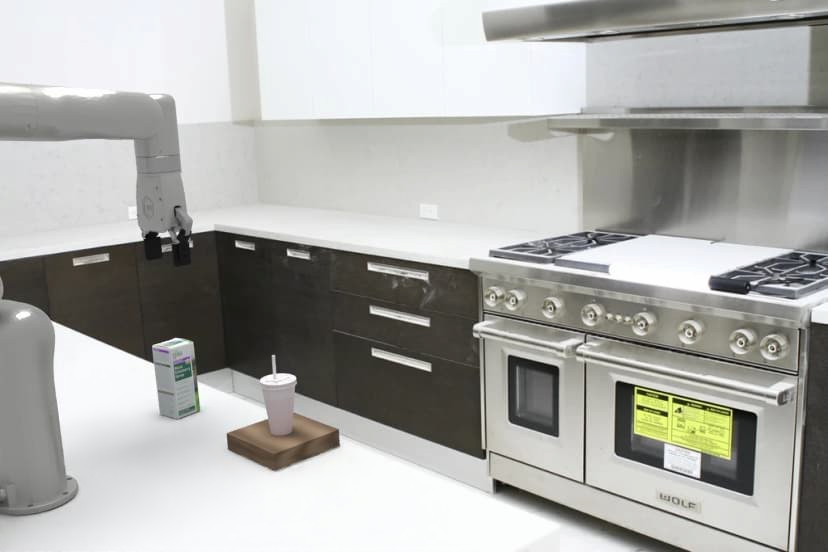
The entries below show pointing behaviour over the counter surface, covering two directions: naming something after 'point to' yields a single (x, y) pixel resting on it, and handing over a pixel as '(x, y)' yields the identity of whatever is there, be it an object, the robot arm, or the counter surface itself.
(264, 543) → the counter surface
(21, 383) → the robot arm
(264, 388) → the smoothie
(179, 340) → the syrup box
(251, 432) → the walnut base
